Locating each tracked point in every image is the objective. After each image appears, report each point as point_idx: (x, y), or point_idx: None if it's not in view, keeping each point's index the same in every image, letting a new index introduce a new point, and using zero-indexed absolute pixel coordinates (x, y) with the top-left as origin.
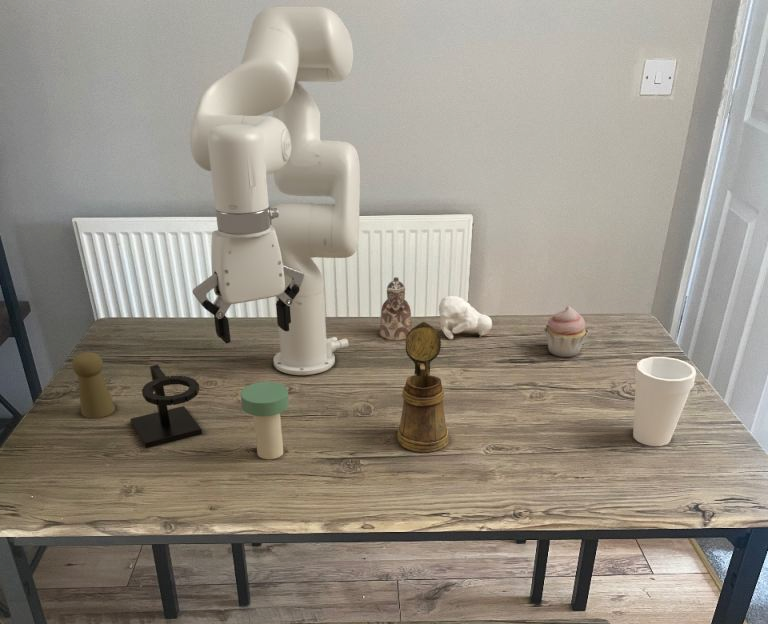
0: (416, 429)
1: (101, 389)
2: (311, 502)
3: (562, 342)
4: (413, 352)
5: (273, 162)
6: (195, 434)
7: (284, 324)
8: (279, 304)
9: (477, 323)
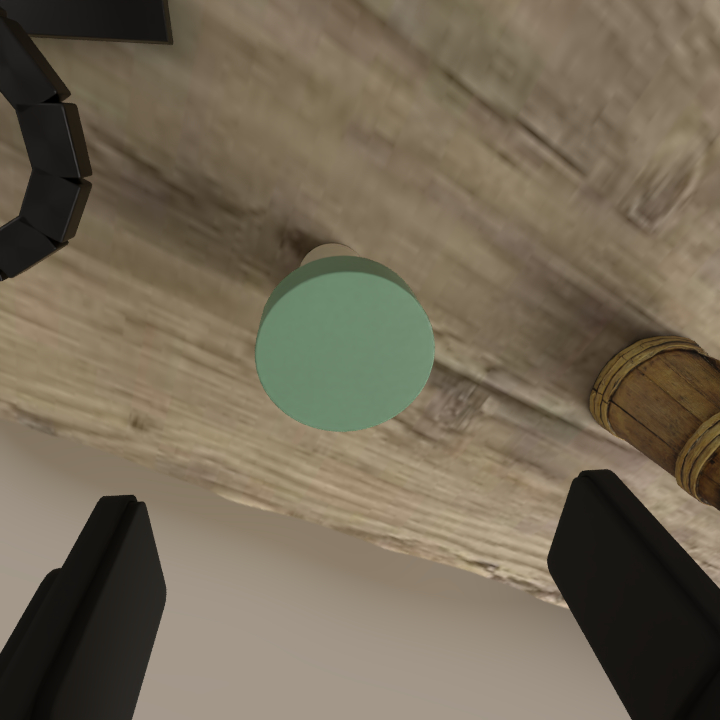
0: (632, 443)
1: None
2: (329, 477)
3: None
4: None
5: None
6: (147, 42)
7: (570, 606)
8: (695, 696)
9: None
